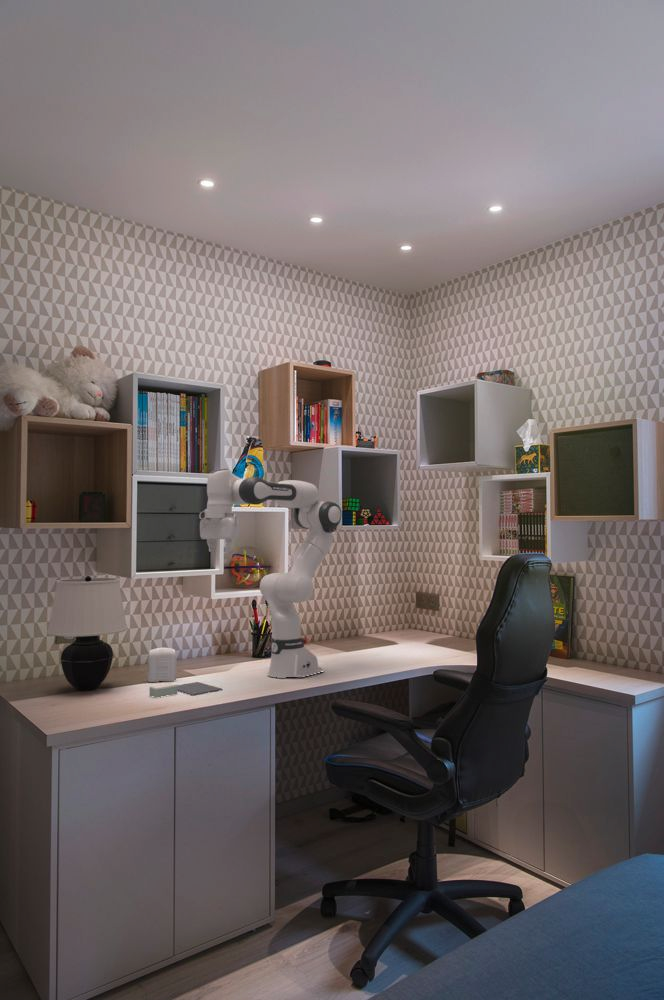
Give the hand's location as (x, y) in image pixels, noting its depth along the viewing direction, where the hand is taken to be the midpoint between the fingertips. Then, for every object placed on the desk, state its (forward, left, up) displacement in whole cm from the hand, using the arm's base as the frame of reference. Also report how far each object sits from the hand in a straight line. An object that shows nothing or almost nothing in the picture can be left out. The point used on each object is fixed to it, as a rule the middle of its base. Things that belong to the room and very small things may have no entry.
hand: (219, 552), depth 253 cm
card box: (+20, -4, -48) cm, 53 cm away
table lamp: (+35, -30, -48) cm, 67 cm away
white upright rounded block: (+9, -24, -48) cm, 55 cm away
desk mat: (+8, -4, -48) cm, 49 cm away
